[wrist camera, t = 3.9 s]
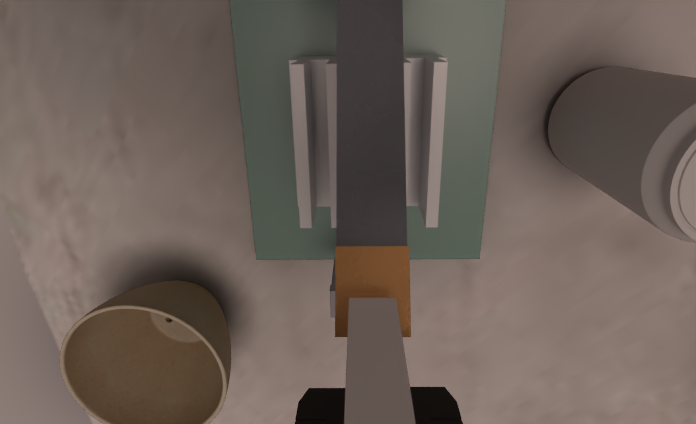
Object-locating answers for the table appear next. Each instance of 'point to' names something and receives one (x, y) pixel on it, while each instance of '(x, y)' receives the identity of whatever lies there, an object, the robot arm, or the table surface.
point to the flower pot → (150, 356)
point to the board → (321, 123)
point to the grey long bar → (371, 159)
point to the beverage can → (633, 142)
